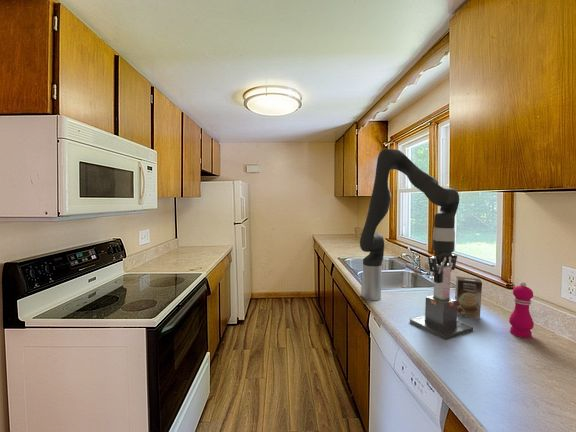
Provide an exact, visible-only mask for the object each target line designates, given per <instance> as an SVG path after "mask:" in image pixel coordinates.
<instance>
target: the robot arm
mask: <svg viewBox="0 0 576 432" xmlns="http://www.w3.org/2000/svg"><path fill="white" fill-rule="evenodd" d="M391 170H393V171H395V170H396V171H398V172H401V173H403V174H404V175H406V178H408V180H409V182H410V183H411V185H413V186H414V187H415V188H416V189H418V190H419V191H420V192H422V193H423V194H424V196H425V197H426V198H427V200H429V201H430V202H431V204H434V205H435V206H438V207H439V209H440V210H439V211H438V212H436V213H435V214H434V217H433V219H434V221H433V223H434V224H433V233H432V250H433V252H434V254H433V256H432V257H431V256H428V259H427V261H428V266H429V271H430V272H431V273H433V283H434V282H436V283H440V279H441V274H440V273H441V269H442V268H443V266H444V265H451V273H452V272H453V271H455V270H456V269H455V268H456V264H457V260H458V255H456V254H452V253H454V252H455V239H456V238H455V237H456V232H455V223H456V221H455V219H456V218H455V217H456V215H457V211H458V208H459V205H460V195H459V192H458V190H456V189H455V188H453V187H452V188H451V187H443V186H441V185H439V183H440V182H439V181H438V180H437V179H436V178H435V177H433V176H432V175H430V174H429V173H428V172H426V171H424V170H423V169H422V168H420V167H419V166H417V165H416V163H414V162H413V161H412V160H411V159H410V158H408V156H407V155H406V154H405V153H404V152H403V151H401V150H400V149H392V148H384V149H382V150H381V151H380V152H379V154H378V156H377V160H376V168H375V176H374V182H373V188H372V193H371V196H370V200H369V205H368V211H367V214H366V218H365V223H364V226H363V229H362V231H361V234H360V239H359V248H360V249H361V250H362V251H363V252H366V253H369V254H368V255H367V256H365V257H363V259H362V277H361V278H360V281H361V282H360V284H361V285H360V289H361V291H360V295H361V297H362V298H363V299H366V300H368V301H379V300H381V298H382V268H383V267H382V263H383V261H384V257H385V256H384V253H385V240H384V236H383V235H382V234H381V233H379V232H376V230H377V228H378V226H379V224H380V223H381V222H382V221H383V220H384V218H385V217H386V216H387V214H388V212H389V209H390V205H391V200H392V194H391V190H390V187H389V186H390V185H389V175H390V171H391ZM437 264H438V265H437ZM439 265H440V266H439ZM437 267H438V270H437ZM451 273H450V275H451Z"/></svg>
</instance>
